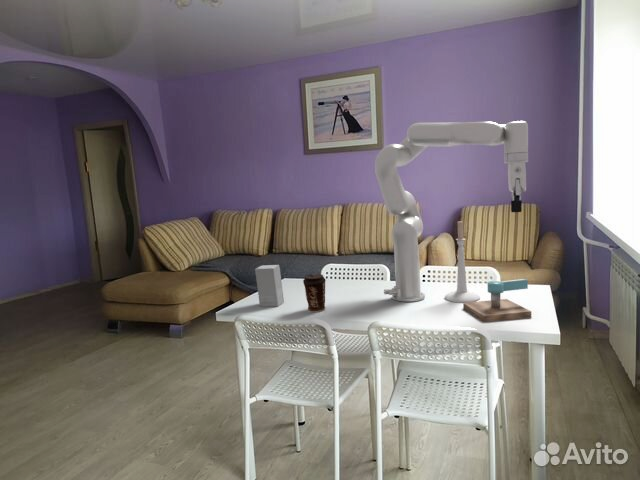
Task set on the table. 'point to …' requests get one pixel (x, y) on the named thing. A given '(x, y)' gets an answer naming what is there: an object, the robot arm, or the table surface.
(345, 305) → the table surface
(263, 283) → the skincare box
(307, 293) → the coffee cup
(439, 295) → the table surface
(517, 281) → the teal lever handle
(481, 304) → the post block
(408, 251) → the robot arm
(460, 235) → the candlestick
